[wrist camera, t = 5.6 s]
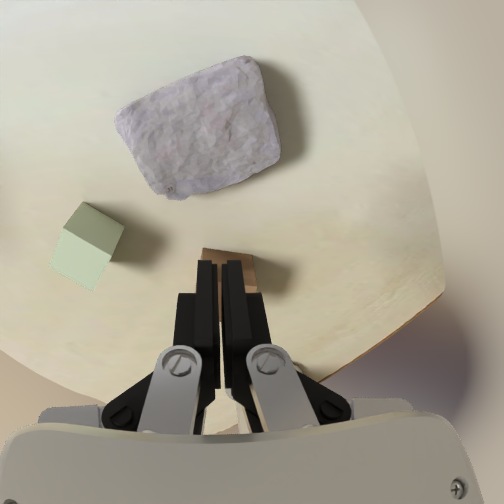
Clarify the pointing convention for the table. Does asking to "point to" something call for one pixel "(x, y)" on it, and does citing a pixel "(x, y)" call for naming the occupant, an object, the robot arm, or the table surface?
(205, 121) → the stone block
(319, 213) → the table surface
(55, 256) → the sage block
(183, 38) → the table surface
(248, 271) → the walnut block
